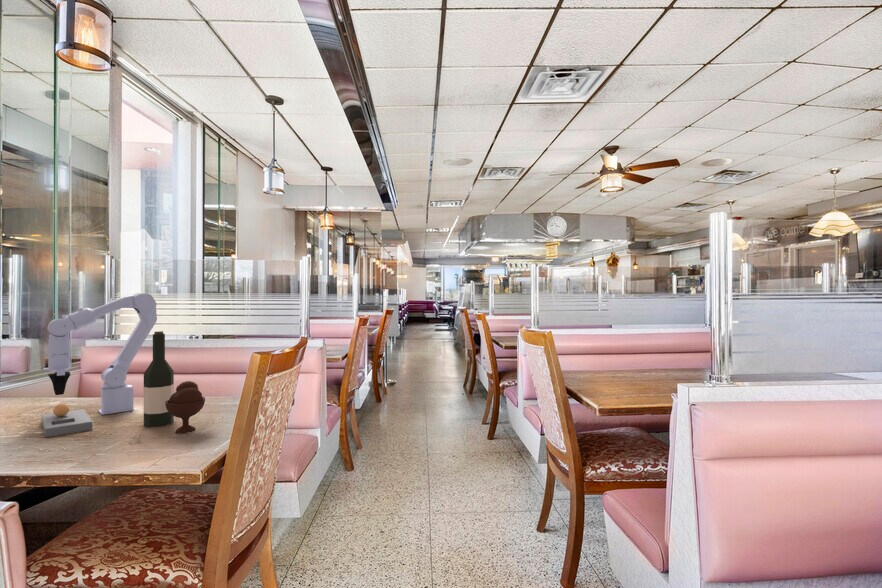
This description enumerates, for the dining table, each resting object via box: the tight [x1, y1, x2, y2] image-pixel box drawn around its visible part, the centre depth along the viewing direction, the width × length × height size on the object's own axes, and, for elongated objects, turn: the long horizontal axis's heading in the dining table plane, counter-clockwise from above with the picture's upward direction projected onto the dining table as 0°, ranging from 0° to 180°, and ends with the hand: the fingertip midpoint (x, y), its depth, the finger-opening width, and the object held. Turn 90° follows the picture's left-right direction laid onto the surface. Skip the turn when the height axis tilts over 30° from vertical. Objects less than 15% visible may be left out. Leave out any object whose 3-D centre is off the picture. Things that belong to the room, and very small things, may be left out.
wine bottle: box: [143, 330, 175, 428], centre depth 146 cm, size 8×8×30 cm
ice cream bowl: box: [165, 380, 206, 434], centre depth 138 cm, size 11×11×15 cm
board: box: [41, 408, 93, 438], centre depth 144 cm, size 11×22×2 cm, turn 44°
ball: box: [52, 403, 70, 417], centre depth 146 cm, size 4×4×4 cm
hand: (59, 394), depth 152 cm, fingers closed
